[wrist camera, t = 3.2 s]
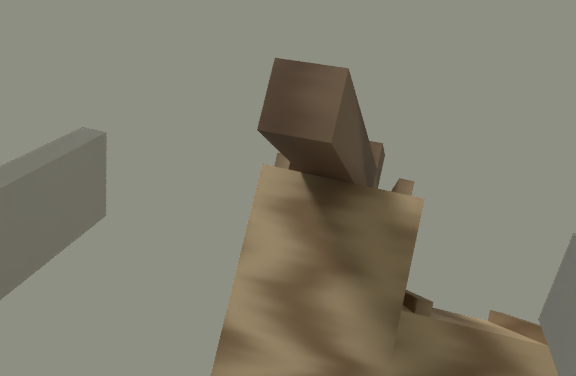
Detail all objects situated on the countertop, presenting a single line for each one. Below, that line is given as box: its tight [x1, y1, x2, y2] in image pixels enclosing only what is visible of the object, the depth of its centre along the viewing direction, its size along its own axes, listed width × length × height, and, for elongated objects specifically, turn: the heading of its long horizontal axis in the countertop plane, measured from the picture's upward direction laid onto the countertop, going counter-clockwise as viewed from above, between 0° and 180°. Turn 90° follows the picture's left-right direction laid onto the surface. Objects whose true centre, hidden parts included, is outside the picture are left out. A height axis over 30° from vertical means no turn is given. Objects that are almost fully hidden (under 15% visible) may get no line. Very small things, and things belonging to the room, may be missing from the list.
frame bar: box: [257, 58, 385, 189], centre depth 32 cm, size 3×24×5 cm, turn 167°
